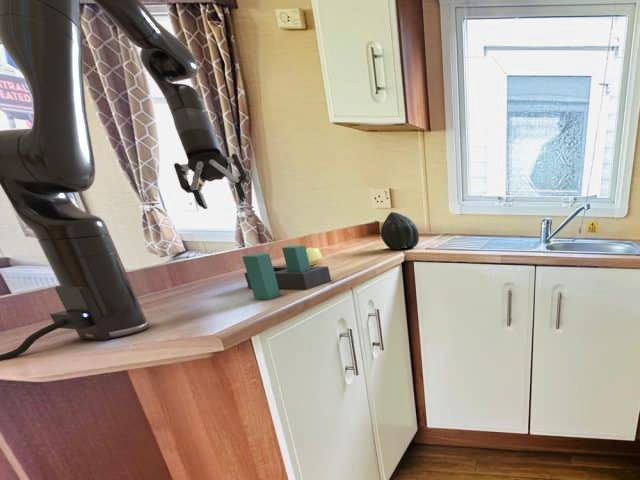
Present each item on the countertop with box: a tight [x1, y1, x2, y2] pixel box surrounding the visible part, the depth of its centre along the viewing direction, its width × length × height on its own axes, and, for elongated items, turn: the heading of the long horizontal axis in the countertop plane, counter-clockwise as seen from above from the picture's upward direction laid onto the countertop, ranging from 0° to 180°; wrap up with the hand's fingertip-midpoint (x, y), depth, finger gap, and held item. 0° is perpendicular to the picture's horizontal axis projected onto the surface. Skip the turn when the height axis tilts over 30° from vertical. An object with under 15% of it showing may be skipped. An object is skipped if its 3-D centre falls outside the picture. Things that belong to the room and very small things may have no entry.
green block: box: [241, 253, 282, 300], centre depth 100 cm, size 4×4×10 cm
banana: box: [279, 247, 323, 266], centre depth 144 cm, size 14×6×20 cm
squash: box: [380, 211, 420, 250], centre depth 174 cm, size 14×15×15 cm
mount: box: [243, 265, 332, 290], centre depth 115 cm, size 10×18×4 cm, turn 76°
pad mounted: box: [281, 245, 310, 272], centre depth 113 cm, size 4×4×10 cm
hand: (224, 204), depth 102 cm, fingers open, 8 cm apart
